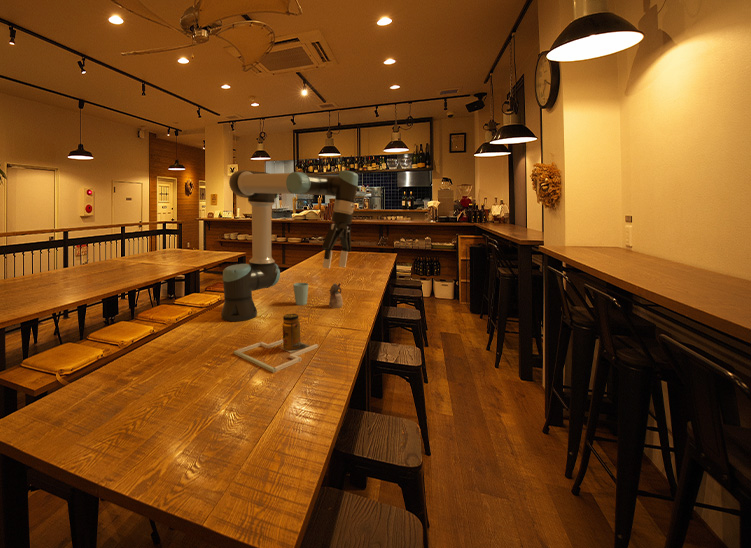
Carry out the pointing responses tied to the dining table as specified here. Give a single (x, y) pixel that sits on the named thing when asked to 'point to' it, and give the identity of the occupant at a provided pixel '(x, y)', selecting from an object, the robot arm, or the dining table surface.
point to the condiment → (291, 333)
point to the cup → (301, 293)
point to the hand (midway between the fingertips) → (334, 267)
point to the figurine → (335, 296)
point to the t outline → (261, 364)
